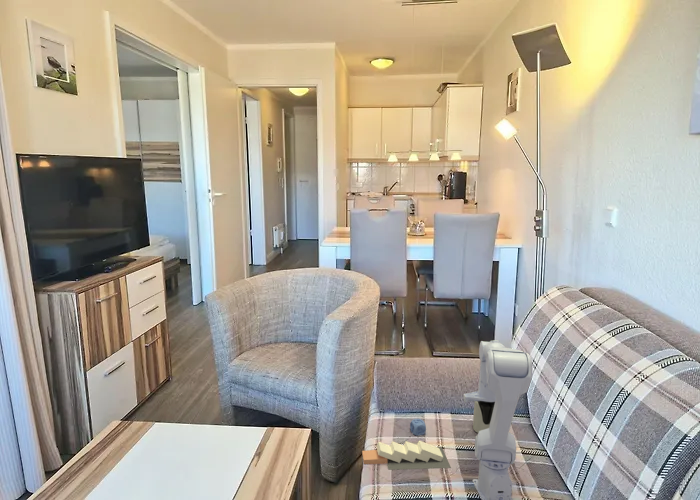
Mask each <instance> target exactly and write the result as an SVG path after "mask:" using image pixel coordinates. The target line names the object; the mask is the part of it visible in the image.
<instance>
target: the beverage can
mask: <svg viewBox="0 0 700 500" xmlns="http://www.w3.org/2000/svg"><path fill="white" fill-rule="evenodd" d="M473 405H474V406H473V419H472V420H473V421H472V429H473V430H474V431H475V432H476V433H477V434H478V433H479V431H481V430H484V429H487V428H489V426H490V424H489V425H485V424H484V422H483V419H482V413H481V409H480V407H479V404H478V402H477V401H474V404H473ZM490 422H491V421H490Z"/></svg>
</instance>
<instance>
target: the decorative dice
mask: <svg viewBox="0 0 700 500" xmlns="http://www.w3.org/2000/svg"><path fill="white" fill-rule="evenodd" d="M409 429H410V433H412V435H414V436H424V435H425V433H426V430H427V426H426V423H425V421H424V420H423V419H421V418H413V419H412V420H411V421H410V422H409Z"/></svg>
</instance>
